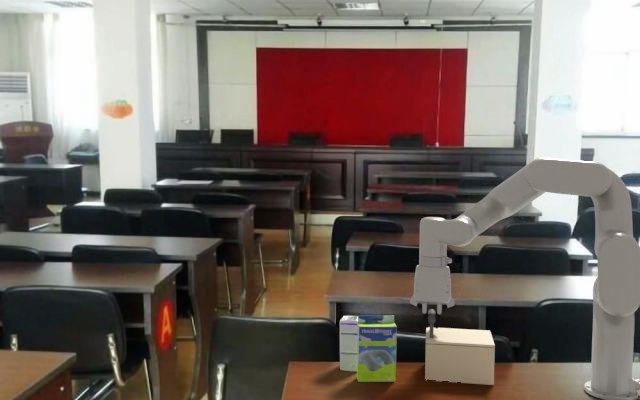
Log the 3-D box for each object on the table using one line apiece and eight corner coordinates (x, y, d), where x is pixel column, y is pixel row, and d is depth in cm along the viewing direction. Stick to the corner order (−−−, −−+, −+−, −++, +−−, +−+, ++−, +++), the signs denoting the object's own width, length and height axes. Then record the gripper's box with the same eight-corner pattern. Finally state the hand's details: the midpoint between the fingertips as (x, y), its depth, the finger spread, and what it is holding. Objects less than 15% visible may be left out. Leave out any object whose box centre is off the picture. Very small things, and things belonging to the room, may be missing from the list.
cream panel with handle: (490, 332, 177) (490, 309, 176) (494, 347, 163) (495, 322, 163) (426, 329, 180) (426, 306, 180) (425, 343, 166) (426, 319, 166)
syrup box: (359, 372, 173) (360, 321, 172) (339, 370, 174) (339, 319, 173) (362, 365, 179) (362, 316, 178) (342, 363, 180) (342, 314, 179)
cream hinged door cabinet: (489, 367, 177) (489, 333, 177) (493, 385, 164) (494, 348, 163) (425, 363, 181) (426, 329, 180) (425, 380, 167) (425, 344, 166)
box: (357, 382, 165) (358, 319, 164) (356, 377, 169) (356, 315, 168) (396, 382, 166) (397, 318, 164) (394, 376, 170) (395, 314, 168)
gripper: (461, 260, 174) (460, 324, 175) (404, 258, 176) (403, 321, 178) (462, 265, 166) (461, 332, 168) (403, 263, 169) (402, 329, 170)
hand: (431, 326), depth 173 cm, fingers closed on cream panel with handle, 2 cm apart
